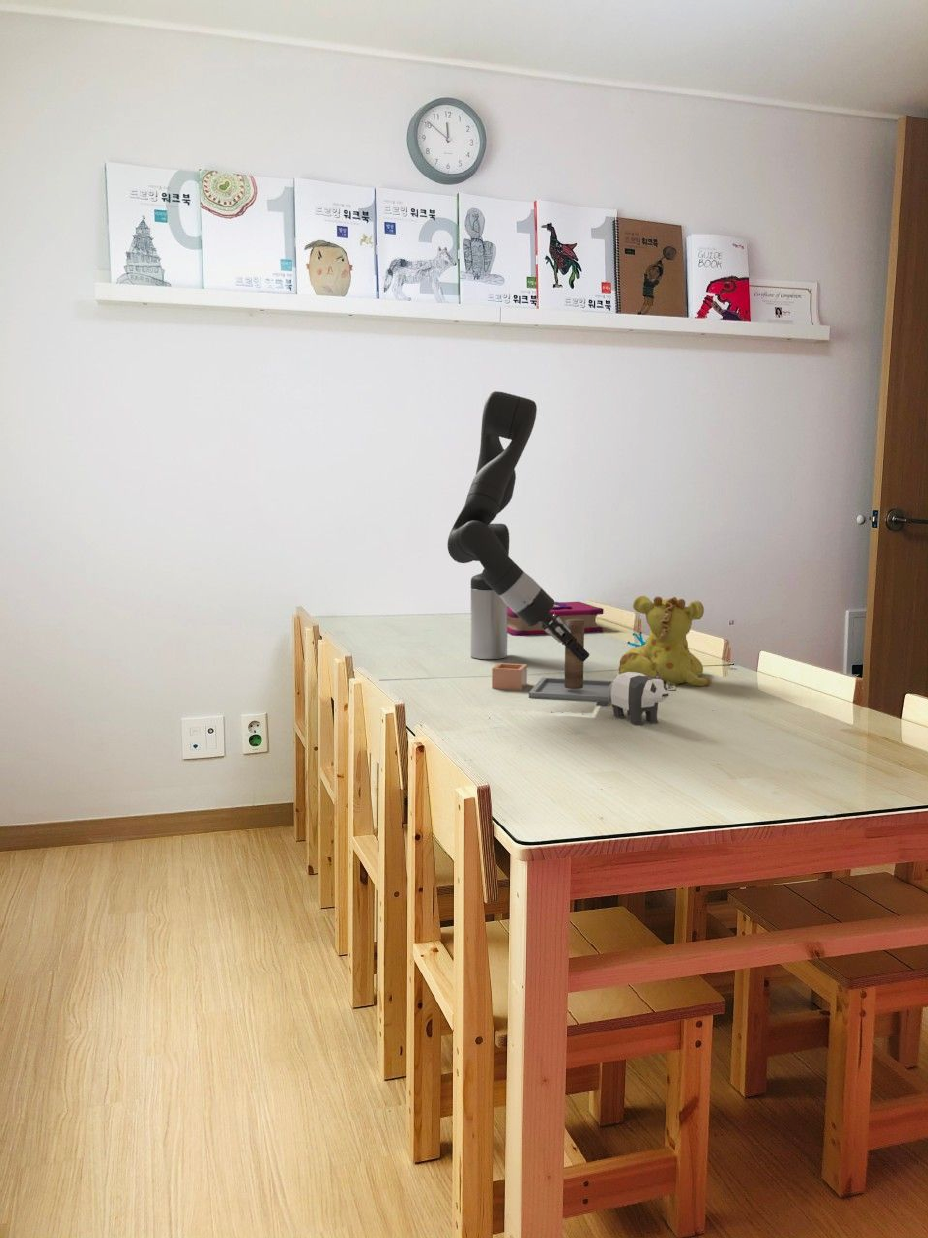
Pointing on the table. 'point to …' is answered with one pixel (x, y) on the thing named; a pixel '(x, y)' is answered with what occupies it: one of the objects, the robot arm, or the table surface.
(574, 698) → the tray
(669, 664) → the giraffe plush
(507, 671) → the pencil cup
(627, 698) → the giant panda
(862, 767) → the table surface
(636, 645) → the stick construction toy
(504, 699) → the table surface
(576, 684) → the dowel
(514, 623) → the book
